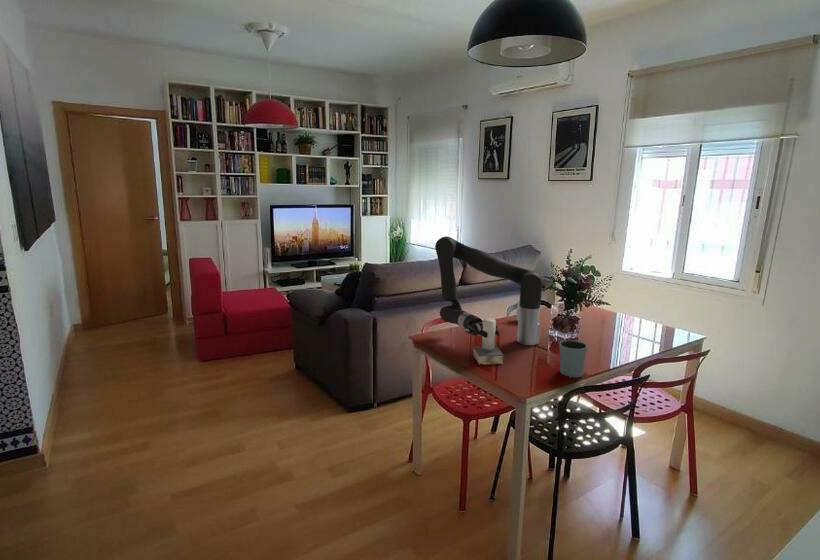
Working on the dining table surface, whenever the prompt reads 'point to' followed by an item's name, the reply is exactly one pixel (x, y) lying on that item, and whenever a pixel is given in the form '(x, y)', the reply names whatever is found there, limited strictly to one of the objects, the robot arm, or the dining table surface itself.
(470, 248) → the robot arm
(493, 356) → the plinth
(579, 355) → the plant pot
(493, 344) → the pale grey rectangular block
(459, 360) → the dining table surface
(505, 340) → the dining table surface
